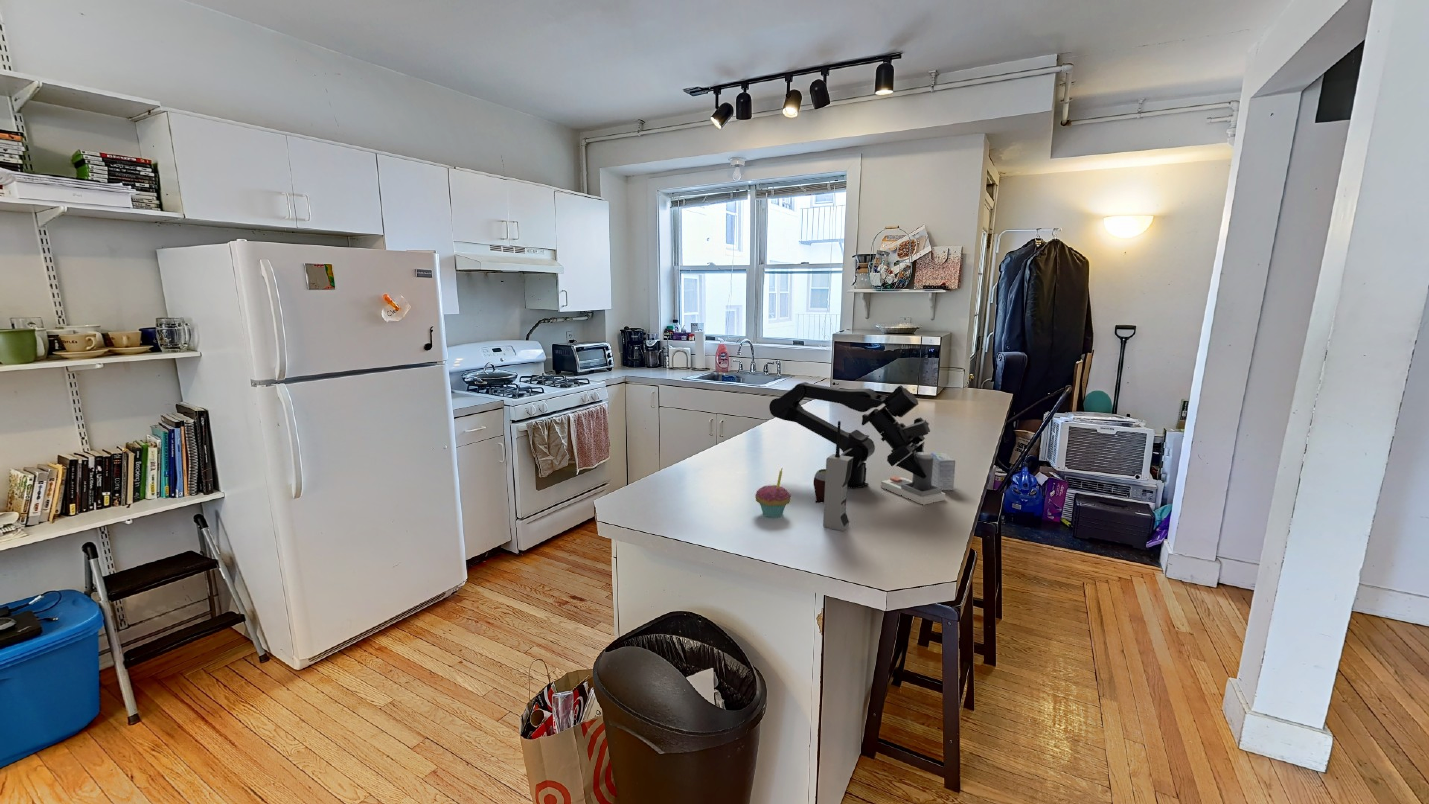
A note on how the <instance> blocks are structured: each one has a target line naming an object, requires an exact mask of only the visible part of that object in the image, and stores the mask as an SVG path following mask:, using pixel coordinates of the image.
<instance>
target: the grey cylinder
mask: <svg viewBox="0 0 1429 804" xmlns="http://www.w3.org/2000/svg"><path fill="white" fill-rule="evenodd" d="M916 460H917V461H918V463H919V464H920V466H921V467H922V469H923V470H924V472H925V474H926V475H927V477H925V478H924V479H923V478H921V477H919V476H917V475H915V474H913V473H912V477H911V478H912V480H911V481H912V488H915V489H917V490H920V491H927V490H931V482H932V470H933V458H932V454H931V453H930V452H926V451H924V452H917V453H916Z"/></svg>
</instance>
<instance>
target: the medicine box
mask: <svg viewBox="0 0 1429 804" xmlns="http://www.w3.org/2000/svg"><path fill="white" fill-rule="evenodd" d="M930 454H932V458H933V470H932V482H931V484H932V485H934V486H937V487H940V488H942V491H954V487H955V475H956V474H955V473H956V472H955V471H956V460H955V459H953V458H952V457H951V456H949V455H948V454H946V453H945V452H932V453H930Z"/></svg>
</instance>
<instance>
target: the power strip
mask: <svg viewBox="0 0 1429 804" xmlns="http://www.w3.org/2000/svg"><path fill="white" fill-rule="evenodd" d="M889 478H890V479H886V480H880V488H882V489H884V490H886V489H887V491H888V492H891V493H893V492H894V494H897V495H899V496H901V495H902V496H901V497H903V498H904V499H905V498H906V499H908V498H909V500H910V499H911V500H910V501H913V502H915V501H916V502H915V503H918V504H920V505H922V504H923V506H924V505H928V504H933V502H934V503H937V502H941V501H943V502H944V501H945V500H946V493H945V492H943V490H942V488H940V487H937V486H934V485H932V484H931V490H927V491H920V490H917V489H915V488H912V480H911V479H908V478H905V477H904V476H903V477H897V476H893V477H889Z"/></svg>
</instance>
